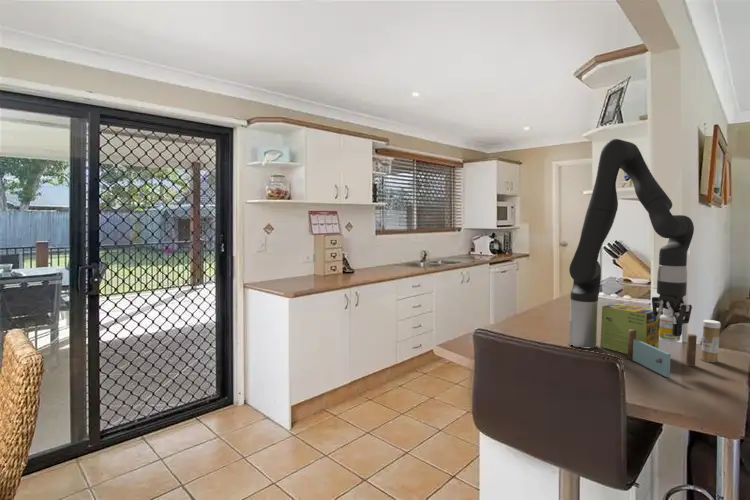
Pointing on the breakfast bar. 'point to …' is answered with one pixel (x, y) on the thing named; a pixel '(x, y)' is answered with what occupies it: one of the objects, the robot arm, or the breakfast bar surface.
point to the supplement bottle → (667, 327)
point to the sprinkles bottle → (710, 340)
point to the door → (651, 357)
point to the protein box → (627, 326)
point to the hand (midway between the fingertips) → (669, 333)
